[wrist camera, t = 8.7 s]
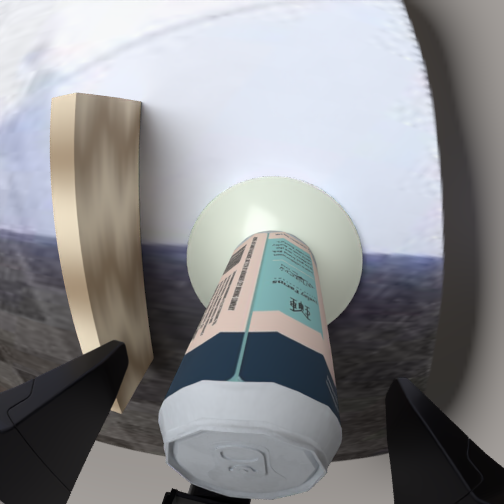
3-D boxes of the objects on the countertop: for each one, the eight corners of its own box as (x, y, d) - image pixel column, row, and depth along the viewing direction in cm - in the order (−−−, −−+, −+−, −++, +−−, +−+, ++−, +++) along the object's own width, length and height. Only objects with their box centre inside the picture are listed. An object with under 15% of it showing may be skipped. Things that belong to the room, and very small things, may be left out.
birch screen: (153, 358, 21) (122, 413, 16) (136, 353, 22) (102, 407, 16) (141, 101, 15) (76, 92, 9) (119, 103, 15) (51, 98, 9)
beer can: (235, 306, 18) (176, 493, 7) (225, 230, 16) (115, 402, 5) (316, 304, 17) (333, 502, 6) (315, 225, 16) (360, 414, 5)
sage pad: (284, 358, 20) (283, 363, 19) (161, 271, 19) (157, 275, 18) (393, 254, 16) (396, 258, 16) (258, 137, 15) (257, 137, 14)
